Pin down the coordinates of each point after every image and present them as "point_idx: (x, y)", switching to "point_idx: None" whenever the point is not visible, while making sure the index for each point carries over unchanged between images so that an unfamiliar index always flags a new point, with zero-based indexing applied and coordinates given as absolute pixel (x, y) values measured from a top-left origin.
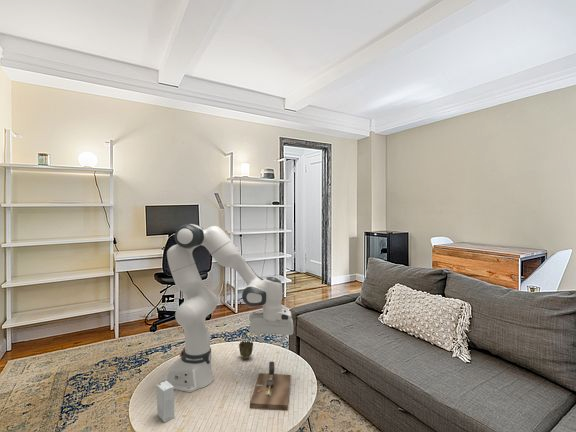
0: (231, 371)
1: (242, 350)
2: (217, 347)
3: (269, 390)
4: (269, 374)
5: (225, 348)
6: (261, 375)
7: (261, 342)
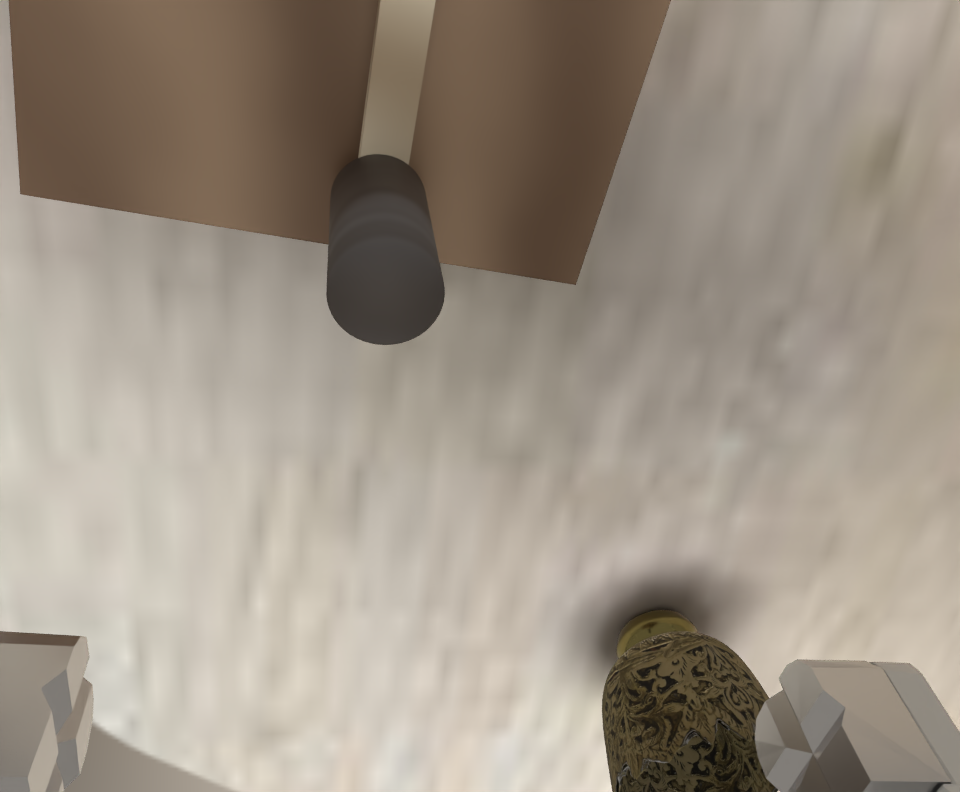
0: (878, 404)
1: (755, 695)
2: None
3: None
4: None
5: None
6: (542, 218)
7: (836, 668)
